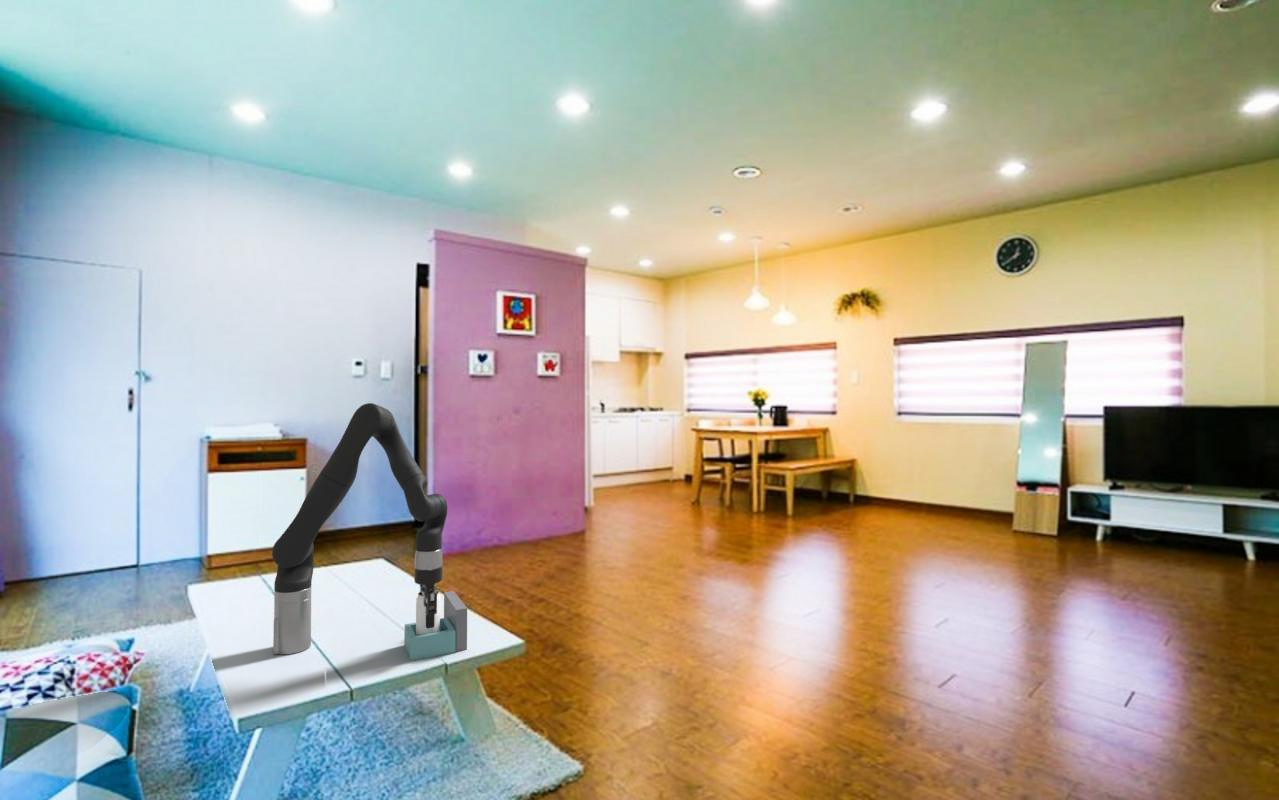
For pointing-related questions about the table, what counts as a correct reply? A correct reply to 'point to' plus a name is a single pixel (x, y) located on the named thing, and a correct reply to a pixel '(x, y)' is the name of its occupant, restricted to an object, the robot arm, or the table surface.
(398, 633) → the table surface
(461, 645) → the wall board
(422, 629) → the can
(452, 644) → the socket block
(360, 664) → the table surface
